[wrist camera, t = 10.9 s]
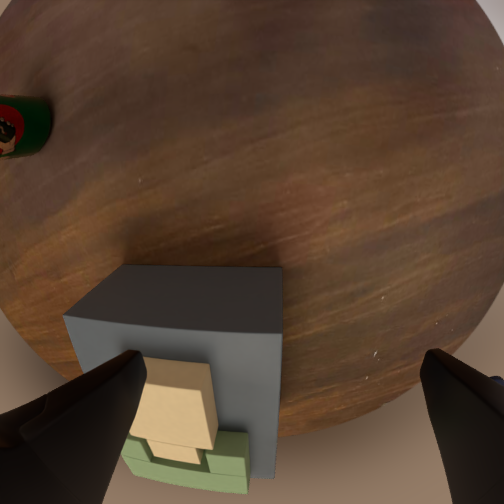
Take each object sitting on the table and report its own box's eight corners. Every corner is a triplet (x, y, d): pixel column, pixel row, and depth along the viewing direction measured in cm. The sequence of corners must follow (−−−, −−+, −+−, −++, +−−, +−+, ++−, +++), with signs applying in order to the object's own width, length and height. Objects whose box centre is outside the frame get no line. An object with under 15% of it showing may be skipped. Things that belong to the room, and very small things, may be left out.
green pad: (248, 432, 16) (244, 458, 14) (250, 472, 17) (248, 494, 16) (120, 413, 16) (108, 434, 14) (141, 456, 18) (133, 474, 16)
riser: (282, 267, 21) (283, 333, 13) (277, 407, 25) (274, 479, 18) (122, 264, 22) (62, 314, 14) (154, 396, 26) (125, 457, 19)
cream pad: (209, 363, 14) (200, 390, 12) (221, 442, 16) (216, 466, 14) (120, 352, 14) (104, 375, 13) (149, 431, 17) (139, 453, 15)
